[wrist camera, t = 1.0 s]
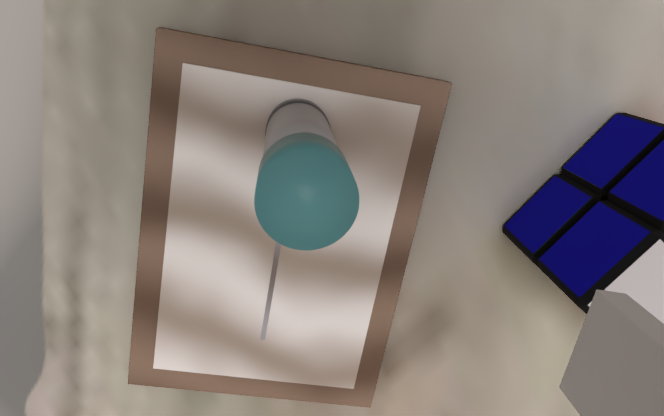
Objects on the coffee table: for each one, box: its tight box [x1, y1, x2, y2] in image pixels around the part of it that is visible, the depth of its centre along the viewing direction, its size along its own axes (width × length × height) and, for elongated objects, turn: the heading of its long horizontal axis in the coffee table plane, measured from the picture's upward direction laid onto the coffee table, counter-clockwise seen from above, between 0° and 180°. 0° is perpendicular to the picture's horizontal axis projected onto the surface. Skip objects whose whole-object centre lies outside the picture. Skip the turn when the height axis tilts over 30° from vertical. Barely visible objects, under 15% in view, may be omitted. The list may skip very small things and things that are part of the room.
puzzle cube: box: [503, 113, 664, 324], centre depth 30 cm, size 10×10×10 cm
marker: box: [254, 99, 359, 251], centre depth 24 cm, size 4×4×12 cm
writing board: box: [128, 27, 452, 407], centre depth 33 cm, size 22×16×1 cm
